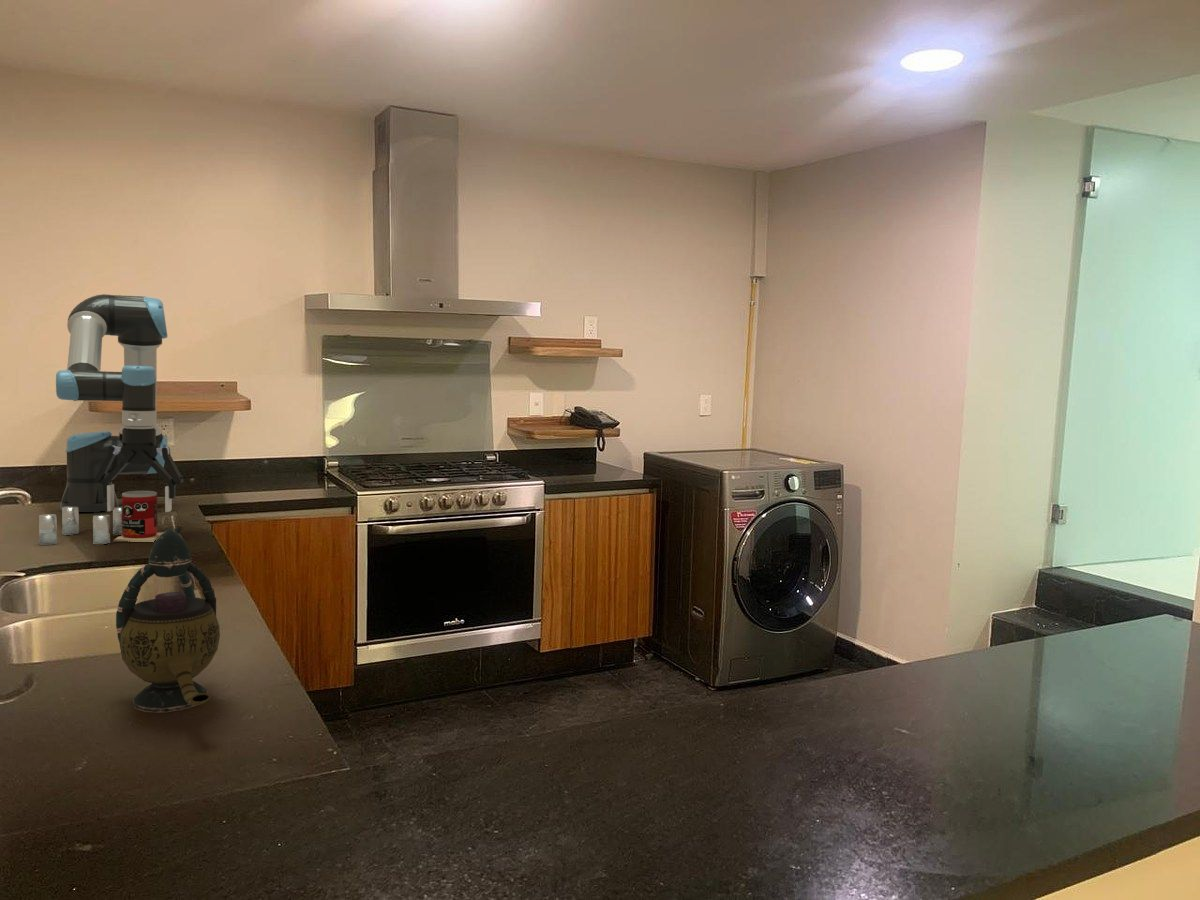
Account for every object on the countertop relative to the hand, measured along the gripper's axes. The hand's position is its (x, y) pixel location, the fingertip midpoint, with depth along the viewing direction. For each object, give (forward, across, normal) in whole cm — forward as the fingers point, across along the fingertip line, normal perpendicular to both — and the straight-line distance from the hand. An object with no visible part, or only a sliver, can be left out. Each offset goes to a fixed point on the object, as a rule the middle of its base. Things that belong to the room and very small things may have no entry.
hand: (139, 511), depth 225 cm
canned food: (+6, 0, 0) cm, 6 cm away
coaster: (+7, 0, 0) cm, 7 cm away
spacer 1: (+7, -18, -8) cm, 21 cm away
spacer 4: (+7, -6, +6) cm, 11 cm away
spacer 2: (+7, -18, +6) cm, 20 cm away
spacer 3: (+7, -6, -8) cm, 12 cm away
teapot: (+5, +42, -119) cm, 127 cm away
